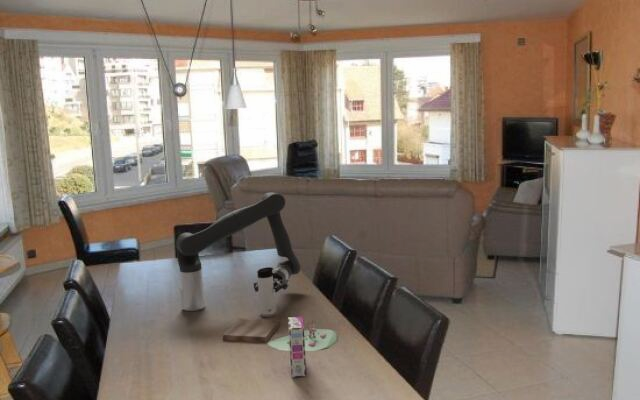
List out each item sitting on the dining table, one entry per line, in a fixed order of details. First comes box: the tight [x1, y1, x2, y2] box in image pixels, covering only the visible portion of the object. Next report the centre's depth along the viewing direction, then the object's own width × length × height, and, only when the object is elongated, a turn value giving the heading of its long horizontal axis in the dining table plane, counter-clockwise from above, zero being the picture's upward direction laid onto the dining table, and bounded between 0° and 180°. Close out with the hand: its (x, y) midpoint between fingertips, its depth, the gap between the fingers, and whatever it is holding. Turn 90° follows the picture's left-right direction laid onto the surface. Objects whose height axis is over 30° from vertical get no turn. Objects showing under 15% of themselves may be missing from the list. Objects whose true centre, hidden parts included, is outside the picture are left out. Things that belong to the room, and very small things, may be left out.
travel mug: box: [257, 266, 276, 318], centre depth 243 cm, size 6×7×20 cm
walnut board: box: [222, 318, 281, 343], centre depth 226 cm, size 17×17×2 cm
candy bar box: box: [287, 315, 307, 379], centre depth 191 cm, size 11×5×16 cm, turn 5°
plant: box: [267, 318, 338, 352], centre depth 215 cm, size 25×21×9 cm
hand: (265, 289), depth 242 cm, fingers open, 8 cm apart
